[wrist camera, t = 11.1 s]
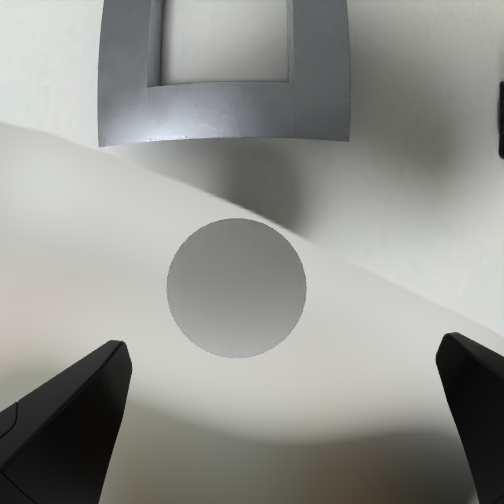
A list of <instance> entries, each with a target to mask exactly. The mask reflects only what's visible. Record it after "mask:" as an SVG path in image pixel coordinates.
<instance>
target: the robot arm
mask: <svg viewBox="0 0 504 504" xmlns="http://www.w3.org/2000/svg"><path fill="white" fill-rule="evenodd" d="M500 157H501V158H502V159H504V81H502V82H501V141H500ZM436 365H437V368H438V371H439V374H440V378H441V381H442V385H443V388H444V392H445V395H446V399H447V402H448V405H449V408H450V411H451V413H452V416H453V419H454V421H455V424H456V427H457V430H458V433H459V436H460V439H461V441H462V444H463V447H464V451H465V454H466V457H467V460H468V463H469V467H470V470H471V473H472V477H473V481H474V484H475V488H476V492H477V496H478V500H479V504H504V357H503V356H501V355H499V354H498V353H496V352H494V351H492V350H490V349H488V348H486V347H484V346H483V345H480V344H479V343H477V342H475V341H473V340H471V339H469V338H467V337H465V336H463V335H461V334H459V333H457V332H453V333H447V334H445V335H444V336H443V339H442V341H441V344H440V346H439V349H438V351H437V354H436ZM131 374H132V362H131V359H130V356H129V353H128V349H127V346H126V344H125V342H123V341H117V340H110V341H108V342H107V343H105V344H104V345H102V346H101V347H99V348H98V349H96V350H94V351H93V352H92V353H90V354H88V355H87V356H85V357H84V358H82V359H81V360H79V361H78V362H76V363H75V364H73V365H72V366H70V367H69V368H67V369H65V370H64V371H63V372H61V373H60V374H58V375H56V376H55V377H53V378H52V379H50V380H49V381H47V382H46V383H44V384H43V385H41V386H40V387H38V388H37V389H35V390H34V391H32V392H31V393H29V394H27V395H26V396H24V397H23V398H21V399H20V400H19V401H18V402H15V403H14V404H12V405H11V406H9V407H8V408H6V409H5V410H3V411H2V412H0V504H98V503H99V499H100V495H101V492H102V488H103V484H104V480H105V476H106V473H107V469H108V466H109V462H110V459H111V455H112V451H113V448H114V445H115V442H116V438H117V435H118V432H119V428H120V425H121V422H122V418H123V414H124V409H125V403H126V398H127V394H128V389H129V384H130V379H131Z"/></svg>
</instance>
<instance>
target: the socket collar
mask: <svg viewBox="0 0 504 504" xmlns="http://www.w3.org/2000/svg"><path fill="white" fill-rule="evenodd" d="M163 2H164V0H104V6H103V14H102V23H101V33H100V46H99V63H98V142H99V147H104V146H112V145H121V144H130V143H140V142H151V141H164V140H179V139H198V138H232V137H266V138H301V139H320V140H335V141H347V142H349V120H350V64H349V35H348V17H347V3H346V0H287V35H288V82H270V81H228V82H203V83H188V84H176V85H166V86H160V56H161V33H162V16H163Z"/></svg>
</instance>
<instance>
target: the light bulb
mask: <svg viewBox="0 0 504 504" xmlns="http://www.w3.org/2000/svg"><path fill="white" fill-rule="evenodd" d="M167 298H168V304H169V308H170V311H171V314H172V316H173V318H174V320H175V322H176V324H177V326H178V327H179V328H180V330H181V331H182V332H183V334H184V335H185V336H186V337H187V338H188V339H189V340H190V341H191V342H193V343H194V344H195V345H197V346H198V347H200V348H201V349H203V350H205V351H207V352H210V353H212V354H215V355H218V356H222V357H228V358H246V357H252V356H256V355H259V354H261V353H264V352H266V351H268V350H270V349H272V348H274V347H275V346H276V345H278V344H279V343H281V342H282V341H283V340H284V339H285V338H286V337H287V336H288V335H289V334H290V333H291V331H292V330H293V329H294V327H295V326H296V324H297V323H298V320H299V318H300V316H301V314H302V311H303V308H304V304H305V299H306V277H305V273H304V270H303V265H302V263H301V261H300V259H299V256H298V254H297V253H296V251H295V250H294V248H293V247H292V246H291V244H290V243H289V242H288V241H287V240H286V239H285V238H284V237H283V236H282V235H281V234H279V233H278V232H277V231H275V230H274V229H273V228H271V227H269V226H267V225H265V224H263V223H260V222H256V221H253V220H247V219H225V220H219V221H216V222H213V223H210V224H208V225H206V226H204V227H202V228H200V229H199V230H198V231H196V232H195V233H193V234H192V235H191V236H189V237H188V239H187V240H186V241H185V242H184V243H183V244H182V245H181V247H180V248H179V250H178V251H177V252H176V254H175V256H174V258H173V261H172V263H171V265H170V269H169V273H168V277H167Z"/></svg>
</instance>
